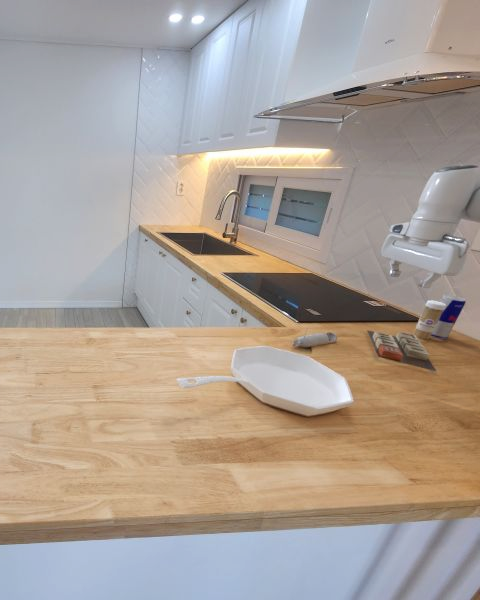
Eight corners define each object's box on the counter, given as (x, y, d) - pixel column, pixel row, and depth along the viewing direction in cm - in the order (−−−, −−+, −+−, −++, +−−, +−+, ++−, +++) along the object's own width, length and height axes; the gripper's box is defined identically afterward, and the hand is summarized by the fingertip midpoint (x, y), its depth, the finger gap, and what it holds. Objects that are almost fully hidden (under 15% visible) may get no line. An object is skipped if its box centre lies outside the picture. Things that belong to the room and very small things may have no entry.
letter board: (414, 343, 112) (415, 340, 112) (435, 373, 94) (437, 371, 94) (366, 332, 118) (366, 330, 118) (377, 358, 100) (378, 356, 100)
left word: (389, 340, 111) (392, 335, 110) (396, 353, 103) (399, 347, 102) (372, 336, 113) (374, 331, 112) (377, 348, 105) (380, 342, 104)
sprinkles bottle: (414, 339, 114) (431, 303, 109) (408, 334, 118) (425, 298, 113) (431, 342, 113) (450, 306, 108) (425, 337, 117) (442, 301, 112)
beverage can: (431, 339, 115) (451, 299, 110) (420, 332, 120) (438, 293, 115) (450, 342, 114) (471, 301, 108) (438, 334, 119) (458, 295, 113)
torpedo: (325, 338, 112) (331, 320, 109) (339, 345, 108) (346, 326, 105) (285, 345, 106) (291, 326, 103) (298, 352, 102) (305, 333, 99)
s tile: (397, 354, 102) (399, 348, 101) (400, 361, 98) (403, 354, 98) (378, 350, 104) (380, 344, 103) (380, 356, 100) (383, 350, 100)
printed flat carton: (413, 340, 112) (415, 334, 111) (426, 360, 99) (430, 354, 99) (395, 336, 114) (398, 331, 113) (406, 355, 101) (409, 349, 101)
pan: (371, 412, 77) (382, 389, 75) (211, 448, 64) (218, 421, 62) (280, 355, 100) (286, 336, 97) (149, 373, 87) (152, 352, 85)
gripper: (485, 240, 78) (457, 295, 83) (407, 226, 97) (389, 271, 102) (458, 238, 78) (432, 294, 83) (386, 224, 97) (368, 270, 102)
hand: (408, 281), depth 93 cm, fingers open, 8 cm apart
